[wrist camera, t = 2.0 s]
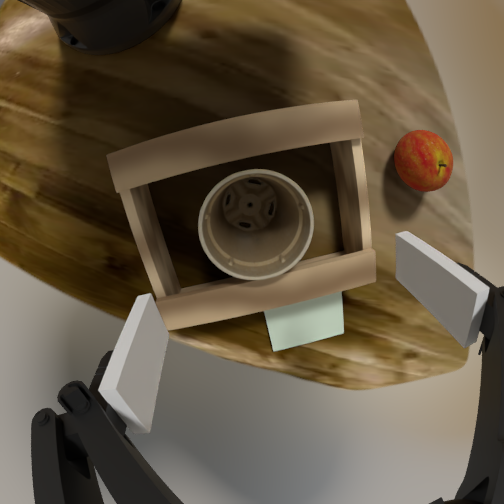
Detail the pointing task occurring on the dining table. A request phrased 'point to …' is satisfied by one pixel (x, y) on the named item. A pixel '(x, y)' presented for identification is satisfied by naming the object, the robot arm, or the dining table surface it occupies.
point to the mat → (305, 321)
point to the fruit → (423, 160)
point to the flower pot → (256, 224)
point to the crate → (234, 148)
